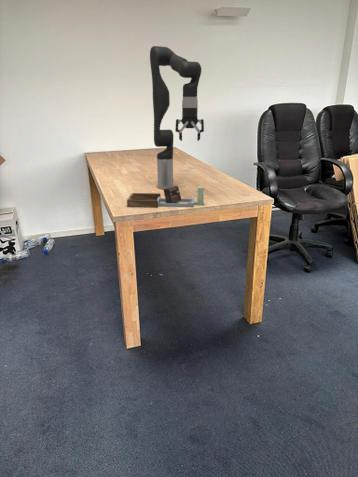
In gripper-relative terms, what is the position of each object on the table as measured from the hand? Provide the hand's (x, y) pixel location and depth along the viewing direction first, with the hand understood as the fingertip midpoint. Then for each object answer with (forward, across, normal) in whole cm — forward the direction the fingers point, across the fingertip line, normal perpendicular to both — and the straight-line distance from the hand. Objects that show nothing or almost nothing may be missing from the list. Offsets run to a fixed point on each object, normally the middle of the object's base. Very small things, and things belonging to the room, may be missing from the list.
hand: (189, 140), depth 183 cm
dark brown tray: (+30, +23, +11) cm, 39 cm away
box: (+29, +7, +11) cm, 32 cm away
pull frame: (+30, +4, +11) cm, 32 cm away
